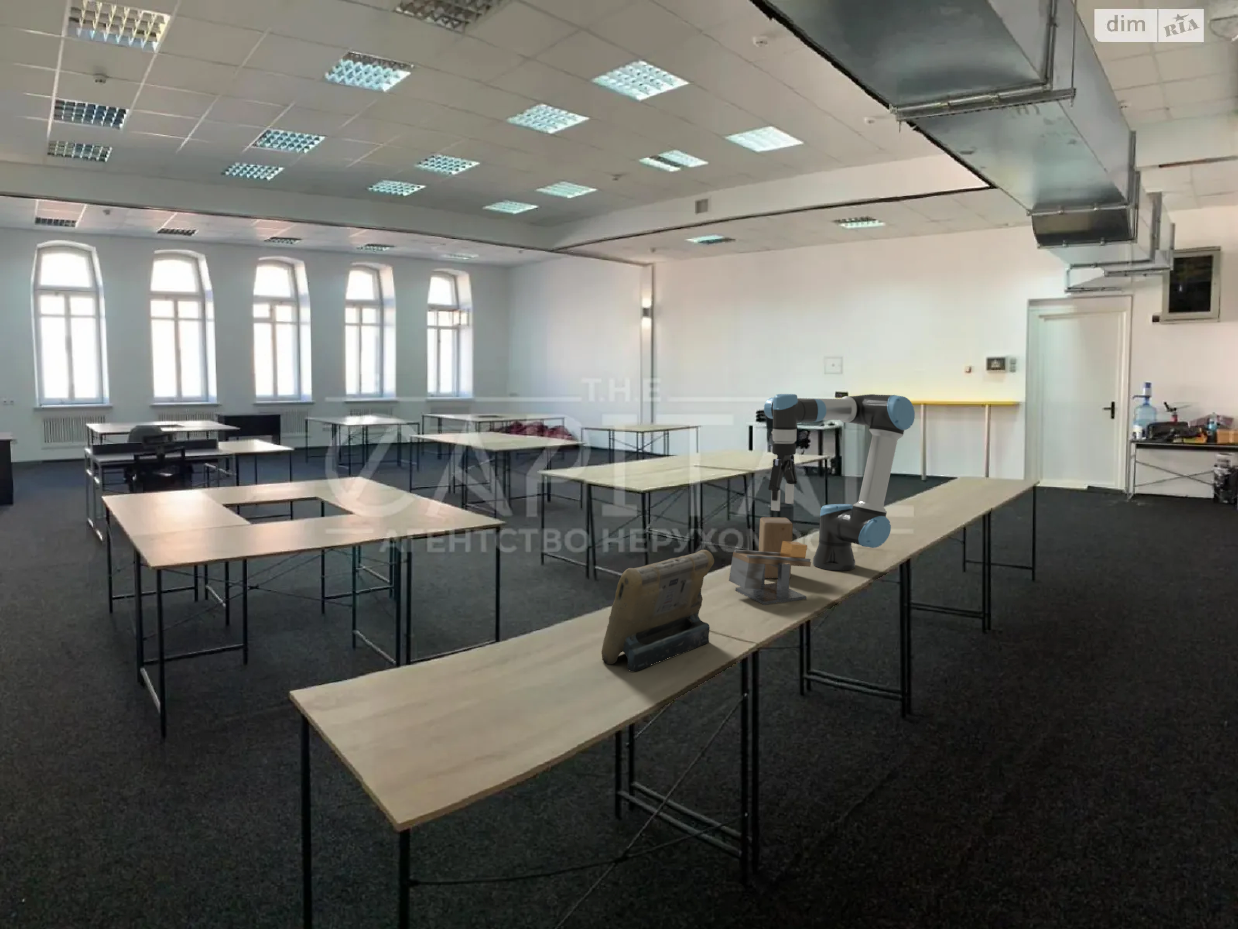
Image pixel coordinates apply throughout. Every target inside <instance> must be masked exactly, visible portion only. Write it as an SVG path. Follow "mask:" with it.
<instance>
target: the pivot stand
mask: <svg viewBox="0 0 1238 929" xmlns="http://www.w3.org/2000/svg"><path fill="white" fill-rule="evenodd" d="M789 574H790V564H789V563H787V562H783V563H778V579H777V581H776V582H773V583H771V582H769V583H765V580H766V578H765V564H764V570H763V576H762V582H761V588H760V589H746V588H743V587H740V586H739V587H738V586H737V587H735V592H737V591H738V593H739V592H740V594H741V593H742V594H741V595H743V594H744V596H745V597H747V596H748V597H747V598H750V599H752V600H753V601H755V602H757V603H760V604H762V605H763V606H766V605H772V604H771V603H774V604H777V603H776V602H781V603H788V602H795V601H796V602H797V601H802V599H804V600H807V595H804V594H803V593H800V592H798V591H797V590H793V589H791V588H790V578H789Z"/></svg>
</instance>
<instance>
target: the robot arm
mask: <svg viewBox="0 0 1238 929" xmlns="http://www.w3.org/2000/svg"><path fill="white" fill-rule="evenodd" d="M763 412H764V415H765V416H766V417H767V418H768V419H770V420H772V431H771V434H772V441H773V442H772V443H771V444H772V445H771V448H772V449H771V453H772V455H774V456H775V455H776V456H777V457H776V458H773V459H772V469H771V472H770V473H771V474H770V480H769V485H768V488H767V489H768V490H769V491H771V493H770V494H771V495H770V496H771V498H770V511H775V512H776V511H777V512H780V511H781V489H780V488H781V484H782V480H783V477H785V481H786V482H785V489H784V490H785V491H784V492H785V494H784V495H785V496H784V500H785V501H784V504H789V505H790V504H791V505H794V503H795V501H794V500H795V499H794V498H795V485H797V483H798V481H797V473H796V471H797V470H796V465H795V455H796V453H797V443H796V442H797V427H798V424H799V423H802V424H803V423H816V422H817V423H818V422H821V421H825V420H826V421H840V422H842V423H845V424H846V423H848V424H849V423H851V424H857V425H861V426H867V427H869V428H868V432H870V434H871V441H870V446H869V448H868V449H869V450H868V454H867V459H866V464H865V468H864V473H863V479H862V483H861V488H860V491H859V492H860V493H859V497H858V501H857V502H855V503H854V504H849V503H836V504H835V503H833V504H825V505H822V507H821V508H820V511H819V512H820V513H819V514H820V515H819V523H818V524H819V527H818V528H819V529H818V530H819V531H818V546H817V547H816V549H815V550H816V551H815V554H814V556H813V558H812V565H813V566H815V567H816V568H820V569H822V570H829V571H840V572H841V571H842V572H844V571H852V570H854V569H855V568H856V559H855V556H854V551H853V549H852V548H853V547H852V544H854V545H858V546H861V547H865V548H870V549H871V548H873V549H876V548H879V547H881V546H882V545H883V544H885V542H887V540H888V539H889V536H890V534H891V531H892V525H891V521H890V520H889V518H887V510H886V508H885V507H884V506H885V500H886V496H887V491H888V486H889V481H890V476H891V472H892V469H893V462H894V459H895V458H894V457H895V455H896V454H895V453H896V449H897V444H898V440H899V439H901V438H903V437H904V434H905V431H906V430H908V429H910V428H911V426H913V424H914V422H915V419H916V417H915V416H916V412H915V408H914V406H913V403H912V402H911V400H910V399H909V398H907V397H906V396H902V395H898V394H876V393H875V394H874V393H873V394H870V393H869V394H862V395H861V394H860V395H851V396H849V395H845V396H843V397H841V398H819V397H818V398H813V397H812V398H810V397H809V398H807V397H798V395H797V394H795V393H778V394H775V395H774V396H773V397H769V398H768V399H766V401H765V402H764V406H763ZM851 569H852V570H851Z"/></svg>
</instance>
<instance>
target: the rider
mask: <svg viewBox="0 0 1238 929" xmlns="http://www.w3.org/2000/svg"><path fill="white" fill-rule="evenodd" d="M807 549H808V545H807V544H804V543H801V542H798V541H792V542H791V541H782V547H781V553H780V556H782V557H791V558H806V555H807Z"/></svg>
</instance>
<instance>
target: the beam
mask: <svg viewBox="0 0 1238 929" xmlns="http://www.w3.org/2000/svg"><path fill="white" fill-rule="evenodd" d="M783 562H787V563H789V564H790V566H791V567H793V566H794V567H806V568H807V567H812V566H811V565H812V562H811V559H810V558H806V557H805V558H791V557H782V556H780V553H777V552H763V551H759V550H745V549H734V551H733V553H732V557H731V565H730V572H729V577H728V582H731V583H732V584H734V585H736V586H737V587H738V586H739V587H743V588H746V589H760V588H761V582H762V576H763V570H764V564H769V565H771V566H774V567H776V568H778V563H783Z"/></svg>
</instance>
